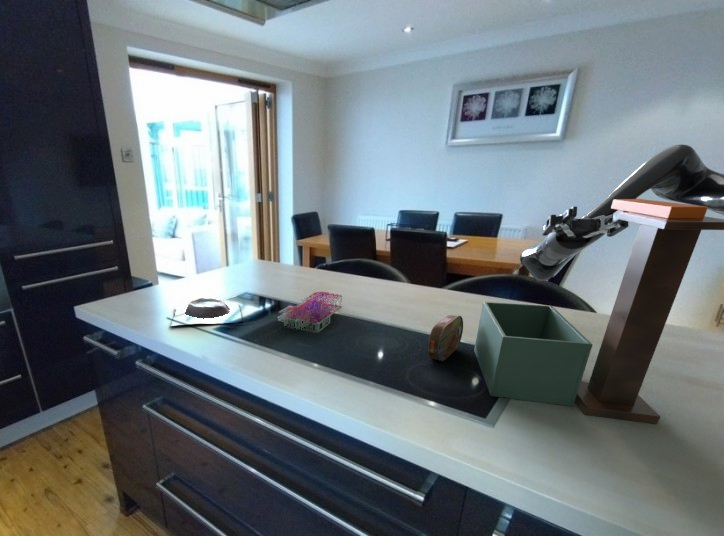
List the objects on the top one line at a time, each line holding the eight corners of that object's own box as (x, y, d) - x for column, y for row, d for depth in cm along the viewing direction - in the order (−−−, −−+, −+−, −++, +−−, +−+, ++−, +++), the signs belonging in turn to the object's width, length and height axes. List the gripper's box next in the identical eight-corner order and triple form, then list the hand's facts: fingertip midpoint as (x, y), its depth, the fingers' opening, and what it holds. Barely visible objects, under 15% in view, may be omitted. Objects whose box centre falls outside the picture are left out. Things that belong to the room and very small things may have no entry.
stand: (622, 388, 74) (686, 212, 62) (664, 431, 62) (754, 222, 49) (560, 381, 77) (610, 212, 64) (589, 421, 64) (657, 221, 52)
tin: (437, 367, 84) (442, 330, 81) (423, 362, 86) (427, 327, 83) (461, 345, 94) (467, 312, 91) (448, 342, 96) (453, 309, 93)
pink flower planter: (312, 298, 133) (312, 283, 131) (354, 303, 126) (355, 288, 124) (267, 326, 109) (266, 308, 107) (316, 335, 102) (316, 316, 100)
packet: (637, 208, 69) (640, 199, 69) (703, 218, 54) (708, 206, 53) (610, 208, 71) (613, 199, 70) (667, 218, 55) (671, 206, 54)
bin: (538, 356, 87) (552, 305, 83) (573, 406, 69) (592, 344, 64) (474, 350, 91) (483, 301, 86) (490, 396, 73) (502, 336, 68)
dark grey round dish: (169, 328, 110) (168, 315, 108) (176, 306, 128) (174, 295, 127) (243, 323, 112) (242, 310, 111) (239, 302, 131) (238, 291, 129)
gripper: (532, 225, 96) (560, 193, 81) (601, 226, 92) (644, 192, 77) (530, 254, 96) (558, 227, 80) (599, 256, 91) (642, 228, 76)
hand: (600, 210), depth 79 cm, fingers open, 8 cm apart
